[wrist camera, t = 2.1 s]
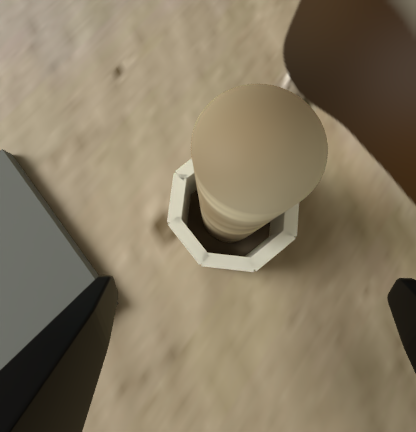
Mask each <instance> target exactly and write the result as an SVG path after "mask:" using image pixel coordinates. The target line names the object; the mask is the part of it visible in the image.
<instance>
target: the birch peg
mask: <svg viewBox="0 0 416 432" xmlns="http://www.w3.org/2000/svg"><path fill="white" fill-rule="evenodd" d="M327 156H328V144H327V138H326V134H325V131H324V128H323V125H322V123H321V121H320V119H319V118H318V116H317V115H316V113H315V112H314V111H313V109H312V108H311V107H310V106H309V105H308V104H307V103H306V102H305V101H304V100H302V99H301V98H300V97H298V96H297V95H295V94H294V93H292V92H290V91H288V90H285V89H283V88H280V87H277V86H273V85H267V84H247V85H242V86H238V87H235V88H232V89H230V90H228V91H226V92H223V93H222V94H220V95H219V96H217V97H216V98H215V99H213V100H212V101H211V102H210V103H209V104H208V105H207V106H206V107H205V108H204V110H203V111H202V113H201V114H200V115H199V117H198V119H197V121H196V123H195V126H194V129H193V133H192V138H191V157H192V163H193V168H194V174H195V180H196V185H197V191H198V196H199V202H200V208H201V213H202V219H203V223H204V226H205V228H206V230H207V231H208V232H209V234H210V235H212V236H213V237H214V238H216V239H217V240H220V241H223V242H237V241H240V240H242V239H244V238H246V237H247V236H249V235H250V234H252V233H253V232H255V231H256V230H258V229H259V228H261V227H262V226H264V225H266V224H267V223H269V222H270V221H272V220H273V219H275V218H276V217H278V216H279V215H281V214H282V213H284V212H285V211H287V210H288V209H290V208H292V207H293V206H295V205H296V204H298V203H299V202H300V201H302V200H303V199H305V198H306V197H307V196H308V195H309V194H310V193H311V192H312V191H313V190H314V188H315V187H316V186H317V184H318V183H319V181H320V179H321V177H322V175H323V173H324V170H325V167H326V163H327Z"/></svg>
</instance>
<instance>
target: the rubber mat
mask: <svg viewBox="0 0 416 432" xmlns="http://www.w3.org/2000/svg"><path fill="white" fill-rule="evenodd" d="M98 276H99V275H98V274H97V272H96V271H95V270H94V268H93V267H92V265H91V264H90V263H89V261H88V260H87V258H86V257H85V256H84V254H83V253H82V251H81V250H80V249H79V247H78V246H77V245H76V243H75V242H74V240H73V239H72V238H71V236H70V235H69V233H68V232H67V231H66V229H65V228H64V226H63V225H62V224H61V222H60V221H59V219H58V218H57V217H56V215H55V214H54V212H53V211H52V210H51V208H50V207H49V205H48V204H47V203H46V201H45V200H44V199H43V197H42V196H41V194H40V193H39V192H38V190H37V189H36V187H35V186H34V185H33V183H32V182H31V180H30V179H29V178H28V176H27V175H26V173H25V172H24V171H23V169H22V168H21V166H20V165H19V164H18V162H17V161H16V160H15V158H14V157H13V155H12V154H10V153H8V152H6V151H4V150H3V149H2V150H1V151H0V370H1V369H2V368H3V367H4V366H5V365H6V364H7V363H8V362H9V361H10V360H11V359H12V358H13V357H14V356H15V355H16V354H17V353H18V352H19V351H21V350H22V349H23V348H24V347H25V346H26V345H27V344H28V343H29V342H30V341H31V340H32V339H33V338H34V337H35V336H36V335H37V334H38V333H39V332H40V331H41V330H43V329H44V328H45V327H46V326H47V325H48V324H49V323H50V322H51V321H52V320H53V319H54V318H55V317H56V316H57V315H58V314H59V313H60V312H61V311H62V310H63V309H64V308H66V307H67V306H68V305H69V304H70V303H71V302H72V301H73V300H74V299H75V298H76V297H77V296H78V295H79V294H80V293H81V292H82V291H83V290H84V289H85V288H86V287H87V286H89V285H90V284H91V283H92V282H93V281H94V280H95V279H96V278H97V277H98ZM117 304H118V302H117Z"/></svg>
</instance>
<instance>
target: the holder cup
mask: <svg viewBox="0 0 416 432" xmlns="http://www.w3.org/2000/svg"><path fill="white" fill-rule="evenodd" d="M196 190H197V185H196V180H195V174H194V168H193V163H192V159H190V160H189V161H188V162H186V163H185V164H184V165H182V166H181V167H180V168H178V169H177V170H176V171H175V173H174V175H173V182H172V189H171V197H170V204H169V211H168V219H167V223H169V224H168V225H169V227H170V228H171V229H172V231H173V232H174V233H175V234H176V236H177V237H178V238H179V240H180V241H181V242H182V243H183V245H184V246H185V247H186V248H187V250H188V251H189V252H190V254H191V255H192V256H193V257H194V259H195V260H196V261H197V263H198V264H199V265H201V264H202V266H204V267H213V268H222V269H231V270H239V271H248V272H254V271H257V270H259V269H260V268H261V267H262V266H263V265H265V264H266V263H267V262H268V261H269V260H271V259H272V258H273V257H274V256H275V255H277V254H278V253H279V252H280V251H282V250H283V249H284V248H285V247H286V246H288V245H289V244H290V243H291V242H292V241H294V240H295V239H296V238H295V237H297V228H298V212H299V203H298V204H296V205H295V206H293V207H292V208H290V209H288V210H287V211H285V212H284V213H282V214H281V215H279V216H278V217H276V218H275V219H273V220H272V221H270V233H269V237H268V238H267V239H266V240H264V241H263V242H262V243H261V244H259V245H258V246H257V247H256V248H255V249H253V250H252V251H251V252H250V253H248V254H247V255H246V256H245V257H242V256H233V255H224V254H215V253H207V251H206V250H205V249H204V248H203V246H202V245H201V244H200V243H199V241H198V240H197V239H196V237H195V236H194V235H193V234H192V232H191V231H190V230H189V229H188V227H187V222H188V214H189V206H190V198H191V194H192V193H193V192H194V191H196Z"/></svg>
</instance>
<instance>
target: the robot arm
mask: <svg viewBox="0 0 416 432" xmlns="http://www.w3.org/2000/svg"><path fill="white" fill-rule="evenodd" d="M117 300H118V291H117V288H116V285H115V281H114V278H113V277H112V276H110V275H101V276H98V277H97V278H96V279H95V280H94V281H93V282H92V283H91V284H90V285H89V286H87V287H86V288H85V289H84V290H83V291H82V292H81V293H80V294H79V295H78V296H77V297H76V298H75V299H74V300H73V301H72V302H71V303H70V304H69V305H68V306H67V307H66V308H64V309H63V310H62V311H61V312H60V313H59V314H58V315H57V316H56V317H55V318H54V319H53V320H52V321H51V322H50V323H49V324H48V325H47V326H46V327H45V328H44V329H43V330H41V331H40V332H39V333H38V334H37V335H36V336H35V337H34V338H33V339H32V340H31V341H30V342H29V343H28V344H27V345H26V346H25V347H24V348H23V349H22V350H21V351H19V352H18V353H17V354H16V355H15V356H14V357H13V358H12V359H11V360H10V361H9V362H8V363H7V364H6V365H5V366H4V367H3V368H2V369H1V370H0V432H82V430H83V427H84V424H85V420H86V417H87V414H88V411H89V408H90V404H91V401H92V398H93V395H94V391H95V388H96V385H97V382H98V379H99V375H100V372H101V369H102V366H103V362H104V359H105V356H106V353H107V349H108V346H109V341H110V336H111V331H112V326H113V321H114V315H115V310H116V305H117ZM388 303H389V306H390V309H391V312H392V315H393V318H394V321H395V324H396V327H397V330H398V332H399V335H400V338H401V341H402V344H403V346H404V349H405V351H406V354H407V356H408V358H409V360H410V362H411V365H412V367H413V369H414V371H415V373H416V280H415V279H412V278H399V279H397V280H396V282H395V283H394V285H393V287H392V288H391V290H390V292H389V294H388Z"/></svg>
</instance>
